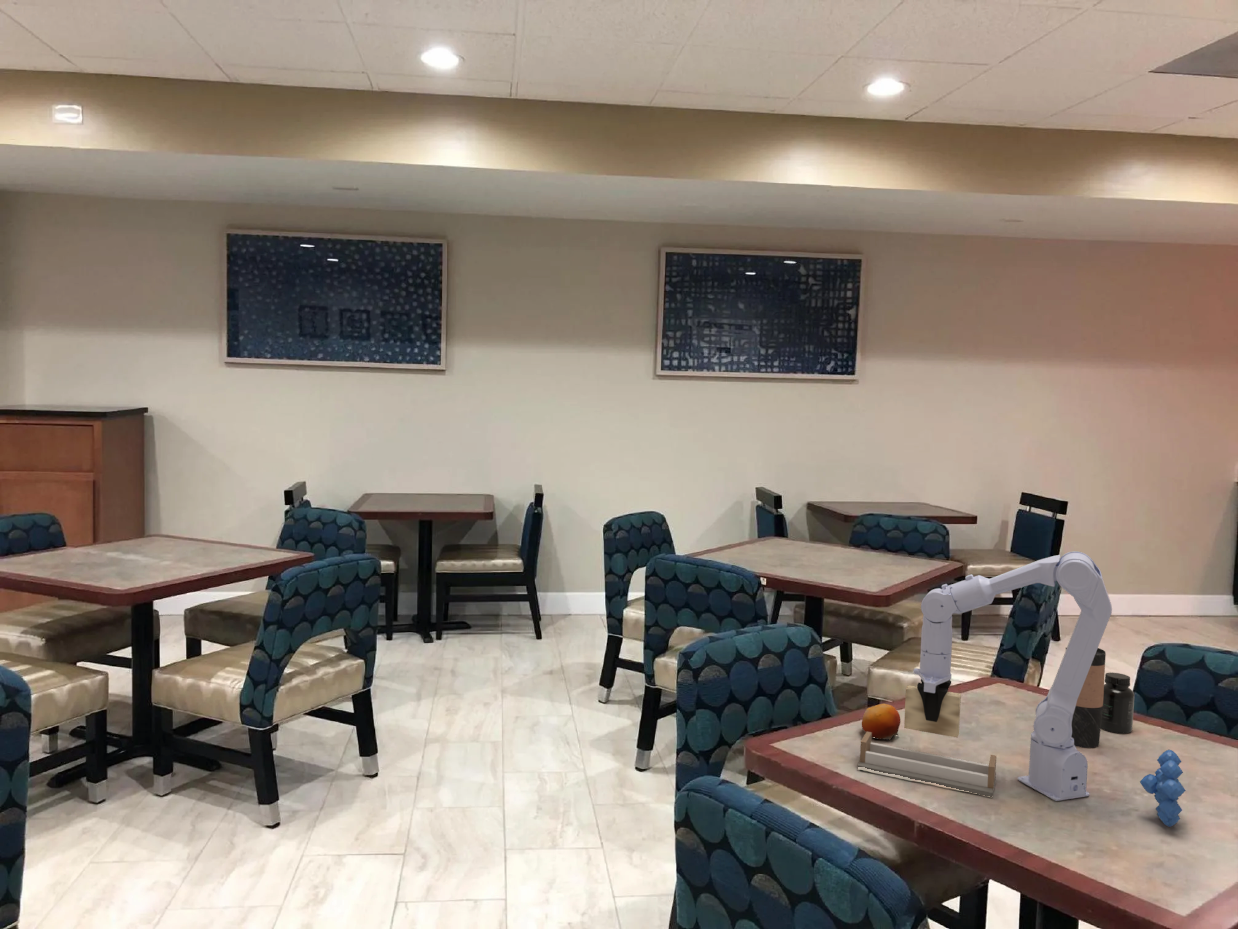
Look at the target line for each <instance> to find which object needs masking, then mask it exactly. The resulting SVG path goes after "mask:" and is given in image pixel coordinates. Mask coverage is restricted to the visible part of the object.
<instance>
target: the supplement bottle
mask: <svg viewBox="0 0 1238 929" xmlns="http://www.w3.org/2000/svg"><path fill="white" fill-rule="evenodd" d="M1130 687H1131V677H1130V676H1129V675H1127V674H1125V673H1119V672H1111V671H1110V672H1105V676H1104V694H1103V709H1102V719H1101V729H1100V730H1103V731H1106V732H1108V733H1109V732H1110V733H1114V734H1119V735H1121V734H1122V735H1123V734H1129V733H1131V732H1132V731H1133V721H1134V707H1135V693H1134V691H1133V690H1132V688H1130Z"/></svg>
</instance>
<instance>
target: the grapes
mask: <svg viewBox="0 0 1238 929" xmlns="http://www.w3.org/2000/svg"><path fill="white" fill-rule="evenodd" d="M1156 761H1157V763H1158V764H1159V767H1158V768H1157V769H1156V770H1155V771H1154V774H1155V775H1154V774H1151V773H1149V774H1147V775H1144V776H1143V777H1142V779H1141V780H1140V781H1139V783H1140V784H1141V786H1142V788H1143V790H1145V791H1146V793H1148V794H1152V795H1153V794H1154V795H1153V796H1154V799H1155V801H1156V802H1157V803H1158V806H1157V807H1155V810H1156V812H1157V814H1156V815H1157V816H1158V818H1159V819H1160V821H1161V822H1162V823H1163V824H1164V826H1166V827H1169V828H1170V827H1173V826H1175V825H1176V824H1177V823H1178V822H1179V821H1180V820H1181V818H1180V816H1179V815H1180V814H1181V813H1182V811H1183V809H1182V807H1181V805H1180V804H1179V802H1178V800H1179V797H1181V796H1182V795H1183V794H1184V793H1185V792H1186V789H1185V788H1184V785H1183V784H1182V783H1181V782H1180V780H1179V779H1178V778H1179V777H1180V776H1181V775H1182V774H1183V773H1184V772H1183V770H1182V769H1181V767H1180V766H1179V765H1180V764H1181V763H1182V760H1181V759H1180V757H1179V756H1178V754H1177V753H1176V752H1175V751H1174V750H1172V749H1167V750H1164V751H1163V752H1162V753H1161V754H1160V755H1159V756H1158V758H1157V759H1156Z"/></svg>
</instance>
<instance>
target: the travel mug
mask: <svg viewBox="0 0 1238 929" xmlns="http://www.w3.org/2000/svg"><path fill="white" fill-rule="evenodd" d="M1066 649H1067V647H1065V650H1066ZM1106 656H1107V654H1106V651H1105V650H1104V649H1103V648H1099V647H1098V649H1097V651H1096V654H1095V656H1094V659H1093V661H1092V664H1091V666H1090V669H1089V671H1088V674H1087V676H1086V679H1085V681H1084V684H1083V687H1082V689H1081V692H1080V694H1079V697H1078V699H1077V703H1076V706H1075V710H1074V714H1073V719H1072V736H1071V737H1072V738H1073V739H1074V745H1075V747H1079V748H1085V749H1091V748H1092V749H1095V748H1096V747H1098V746H1100V737H1101V730H1102V729H1101V719H1102V709H1103V694H1104V684H1105V674H1106V670H1105V669H1106Z"/></svg>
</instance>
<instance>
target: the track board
mask: <svg viewBox="0 0 1238 929" xmlns="http://www.w3.org/2000/svg"><path fill="white" fill-rule="evenodd" d="M872 739H873V738H872V732H865V734H863V737H862V739H861V741H860V748H859V749H860V750H859V752H860V753H859V762H858V764H857V768H858V767H865V768H867V769H871V770H874V771H879V772H883V773H888V774H895V775H900V776H903V777H908V778H910V779H915V780H921V781H925V782H931V783H936V784H939V785H944V786H946V787H951V788H956V789H959V790H964V791H969V792H972V793H977V794H980V795H985V796H990V797H992V796H993V797H994V791H993V790H995V785H996V784H995V783H996V779H995V778H997V771H996V770H997V755H995V754H990V756H989V763H988V764H987V763H982V762H976V761H972V760H965V759H960V758H956V757H951V756H945V755H940V754H935V753H931V752H930V753H929V752H924V751H919V750H913V749H910V748H909V749H908V748H904V747H900V746H899V747H898V746H892V745H889V744H882V743H878V742H874V741H873V742H872ZM994 784H995V785H994ZM993 797H992V798H993Z"/></svg>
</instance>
